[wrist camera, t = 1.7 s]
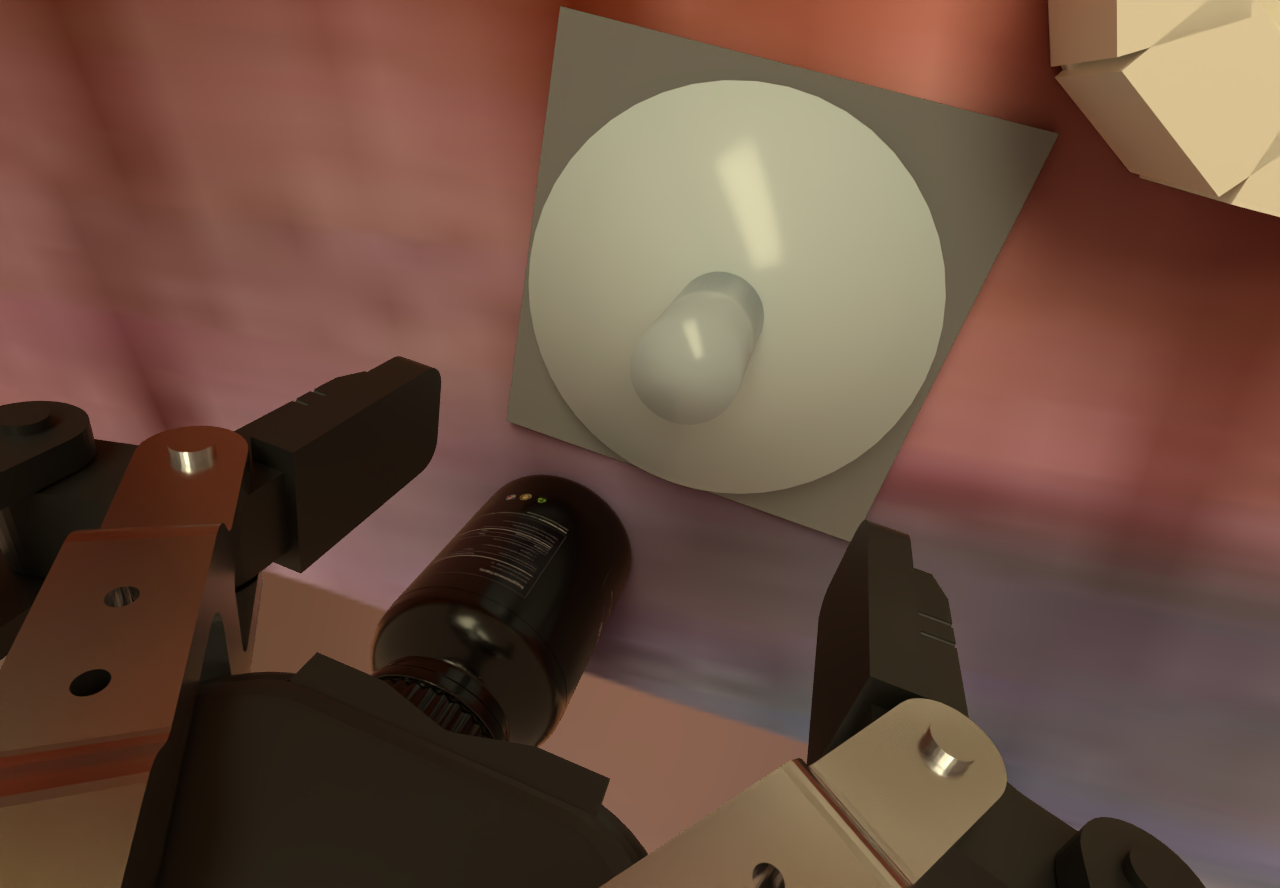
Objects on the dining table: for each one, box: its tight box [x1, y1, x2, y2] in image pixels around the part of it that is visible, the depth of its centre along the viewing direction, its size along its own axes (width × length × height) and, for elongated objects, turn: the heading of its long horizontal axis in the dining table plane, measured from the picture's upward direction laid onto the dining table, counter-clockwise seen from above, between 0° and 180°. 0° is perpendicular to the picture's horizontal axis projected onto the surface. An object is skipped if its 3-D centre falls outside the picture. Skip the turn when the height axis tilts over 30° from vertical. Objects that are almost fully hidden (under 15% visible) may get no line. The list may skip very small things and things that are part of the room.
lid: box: [529, 80, 946, 494], centre depth 19 cm, size 13×13×6 cm
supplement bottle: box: [371, 475, 631, 747], centre depth 23 cm, size 7×7×12 cm
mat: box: [507, 6, 1059, 542], centre depth 22 cm, size 14×14×1 cm
